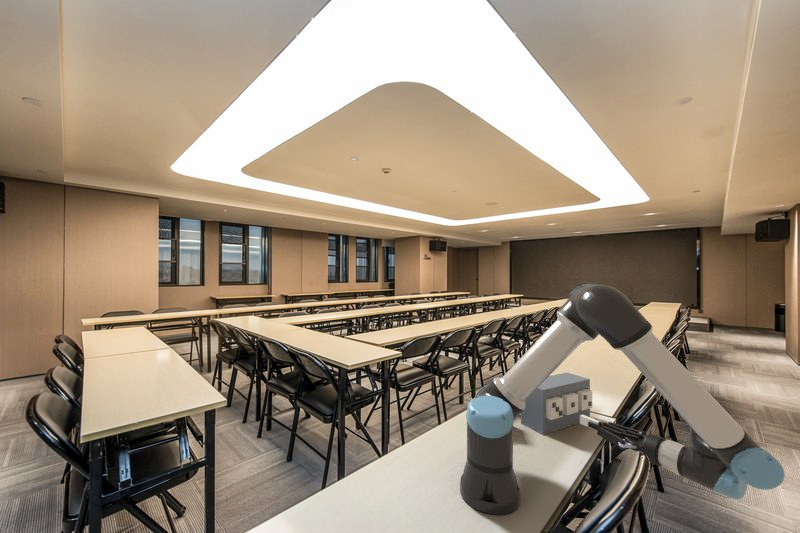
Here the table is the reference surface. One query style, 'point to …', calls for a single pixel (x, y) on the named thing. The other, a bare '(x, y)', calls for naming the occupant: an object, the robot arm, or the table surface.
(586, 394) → the two dot tile
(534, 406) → the tile console
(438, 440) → the table surface
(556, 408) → the three dot tile
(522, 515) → the table surface
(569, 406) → the one dot tile
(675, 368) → the robot arm
